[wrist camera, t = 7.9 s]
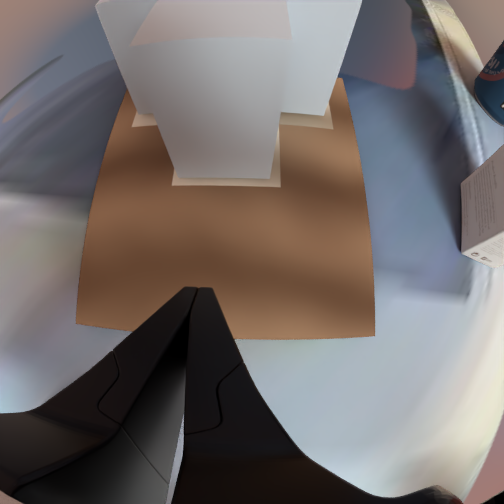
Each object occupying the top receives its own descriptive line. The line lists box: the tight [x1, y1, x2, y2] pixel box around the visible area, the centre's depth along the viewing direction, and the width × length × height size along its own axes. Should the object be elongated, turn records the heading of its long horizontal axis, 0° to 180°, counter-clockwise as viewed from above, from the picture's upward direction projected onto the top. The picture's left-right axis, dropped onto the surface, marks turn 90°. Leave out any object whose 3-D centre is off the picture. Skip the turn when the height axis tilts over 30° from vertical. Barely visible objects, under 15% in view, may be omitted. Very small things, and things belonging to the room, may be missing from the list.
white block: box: [95, 0, 362, 179], centre depth 12 cm, size 8×12×9 cm, turn 88°
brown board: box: [76, 78, 375, 340], centre depth 16 cm, size 18×16×1 cm
